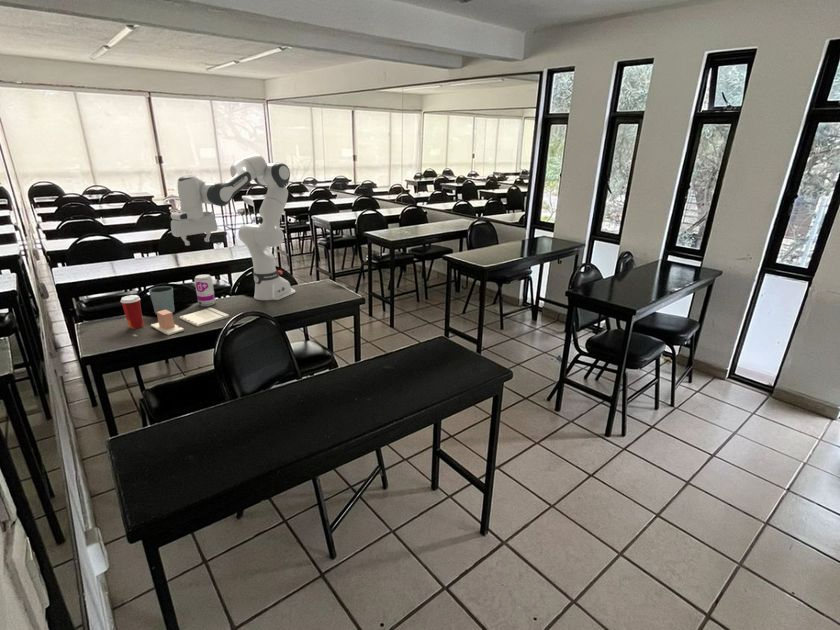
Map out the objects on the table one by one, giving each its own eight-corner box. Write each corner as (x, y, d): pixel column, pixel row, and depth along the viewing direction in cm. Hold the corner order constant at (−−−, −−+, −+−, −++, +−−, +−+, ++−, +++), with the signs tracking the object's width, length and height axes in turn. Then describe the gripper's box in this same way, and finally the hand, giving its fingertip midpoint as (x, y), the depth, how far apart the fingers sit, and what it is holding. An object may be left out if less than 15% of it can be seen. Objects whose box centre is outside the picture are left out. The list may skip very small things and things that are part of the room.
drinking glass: (148, 314, 224) (143, 290, 220) (165, 307, 233) (161, 284, 229) (165, 316, 222) (160, 293, 217) (181, 309, 230) (177, 287, 226)
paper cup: (149, 323, 214) (143, 295, 208) (138, 330, 206) (132, 300, 201) (134, 322, 214) (127, 294, 209) (122, 329, 207) (115, 299, 202)
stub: (166, 321, 215) (163, 306, 212) (184, 330, 206) (181, 314, 203) (151, 326, 210) (147, 310, 207) (168, 335, 201) (165, 318, 198)
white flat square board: (211, 309, 232) (210, 307, 231) (229, 316, 223) (229, 314, 222) (179, 318, 220) (179, 316, 219) (197, 326, 211) (197, 324, 210)
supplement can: (211, 306, 235) (207, 278, 230) (195, 306, 235) (190, 278, 230) (218, 301, 243) (214, 274, 237) (203, 301, 243) (198, 273, 237)
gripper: (210, 209, 217) (214, 238, 222) (166, 215, 202) (172, 246, 207) (217, 211, 214) (222, 240, 219) (173, 216, 199) (179, 248, 204)
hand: (197, 243), depth 213 cm, fingers open, 8 cm apart
